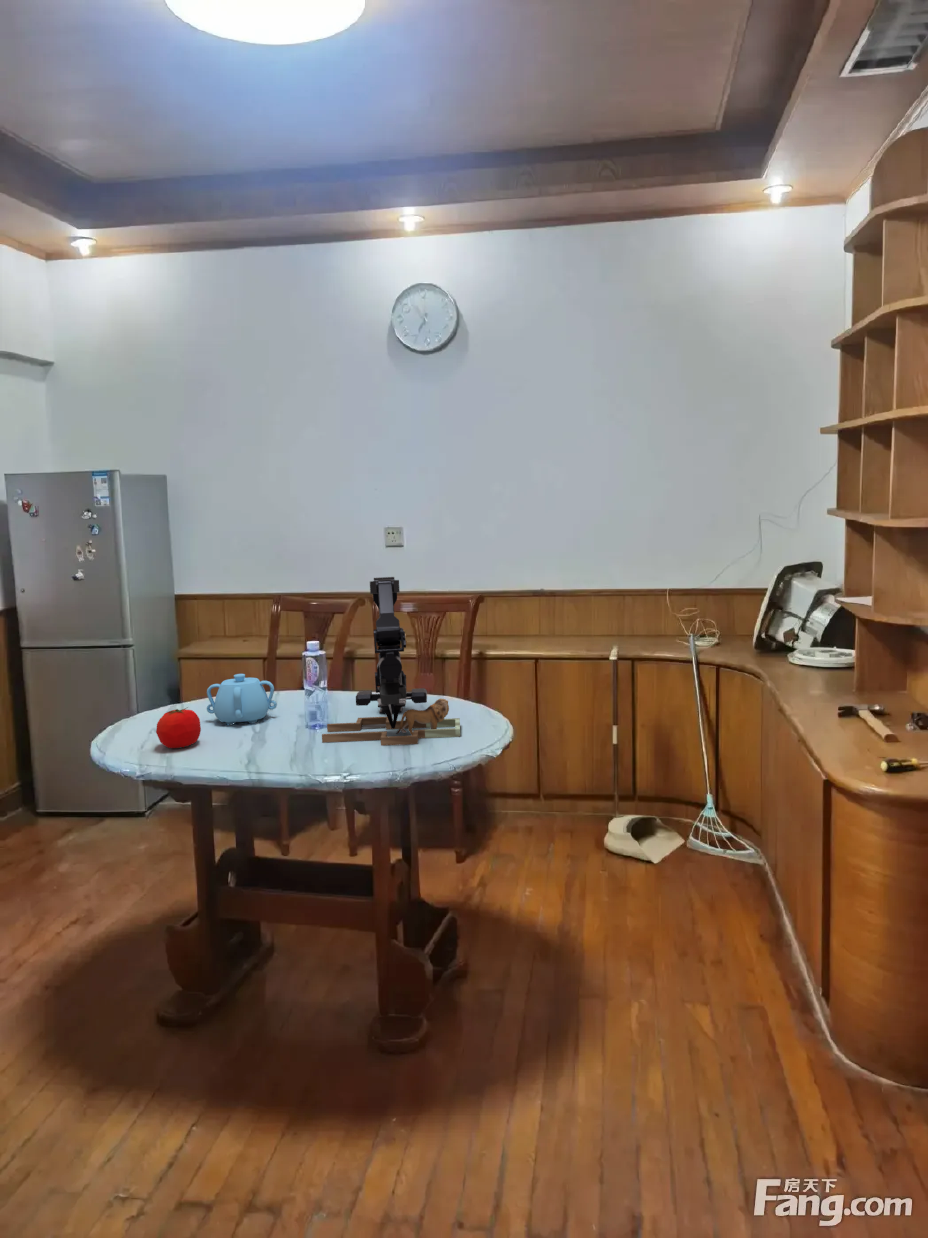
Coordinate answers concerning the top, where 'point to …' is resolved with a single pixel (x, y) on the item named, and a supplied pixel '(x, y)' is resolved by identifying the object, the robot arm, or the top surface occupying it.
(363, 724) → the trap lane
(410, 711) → the lion figurine
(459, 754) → the top surface
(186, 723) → the tomato
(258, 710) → the decorative pot
